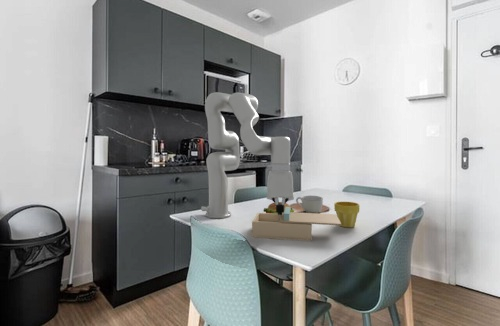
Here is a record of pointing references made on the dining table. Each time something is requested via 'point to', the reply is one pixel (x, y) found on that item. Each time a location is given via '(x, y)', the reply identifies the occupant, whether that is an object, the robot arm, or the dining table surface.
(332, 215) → the lid
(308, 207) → the teacup
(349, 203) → the plant pot
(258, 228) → the box
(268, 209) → the food
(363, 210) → the dining table surface
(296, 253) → the dining table surface
